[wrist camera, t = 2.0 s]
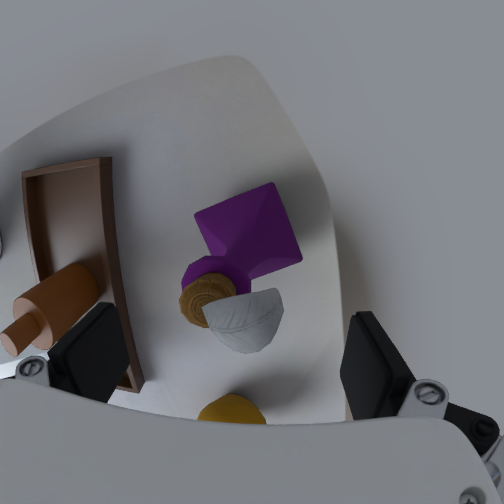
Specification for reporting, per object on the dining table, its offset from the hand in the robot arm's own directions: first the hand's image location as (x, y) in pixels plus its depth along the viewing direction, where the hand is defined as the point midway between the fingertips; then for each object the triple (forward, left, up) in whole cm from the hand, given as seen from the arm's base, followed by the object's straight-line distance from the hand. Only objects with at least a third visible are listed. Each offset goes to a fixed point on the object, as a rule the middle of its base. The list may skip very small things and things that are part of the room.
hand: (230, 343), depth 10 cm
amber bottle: (+7, -21, -18) cm, 28 cm away
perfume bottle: (0, 0, -19) cm, 19 cm away
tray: (+7, -21, -18) cm, 29 cm away
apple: (+24, -2, -19) cm, 30 cm away
